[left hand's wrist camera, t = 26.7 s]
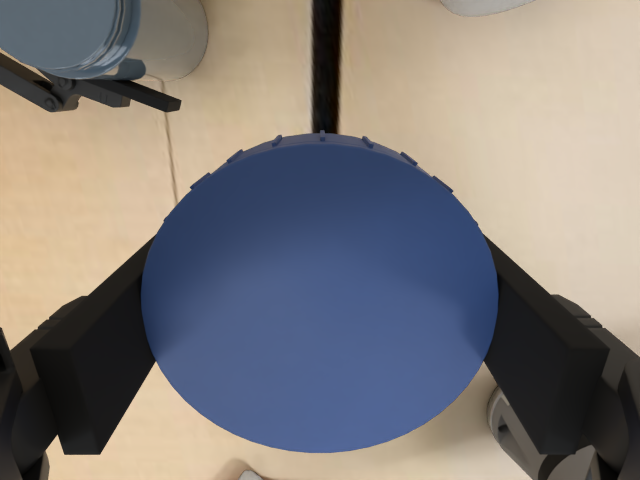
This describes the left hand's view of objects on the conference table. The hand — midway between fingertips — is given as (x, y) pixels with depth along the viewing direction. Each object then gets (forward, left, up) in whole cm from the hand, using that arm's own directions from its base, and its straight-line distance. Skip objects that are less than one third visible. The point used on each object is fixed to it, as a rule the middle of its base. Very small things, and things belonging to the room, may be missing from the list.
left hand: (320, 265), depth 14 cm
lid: (0, 0, +3) cm, 3 cm away
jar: (+17, 0, -24) cm, 30 cm away
